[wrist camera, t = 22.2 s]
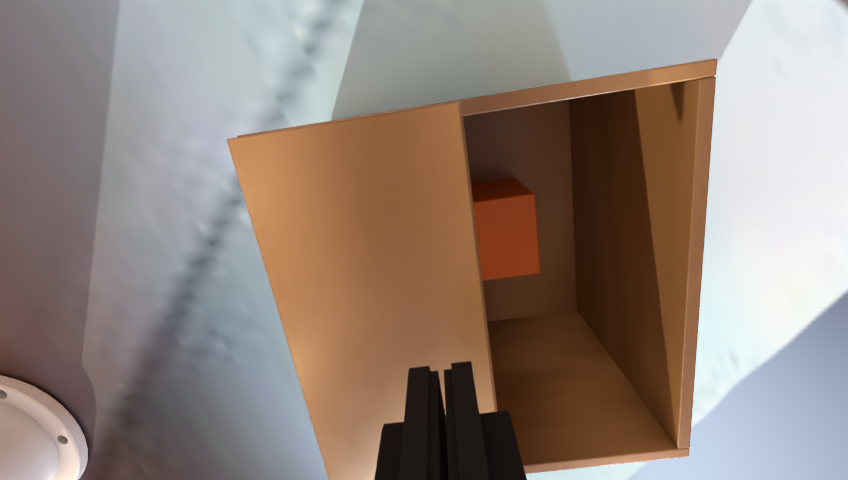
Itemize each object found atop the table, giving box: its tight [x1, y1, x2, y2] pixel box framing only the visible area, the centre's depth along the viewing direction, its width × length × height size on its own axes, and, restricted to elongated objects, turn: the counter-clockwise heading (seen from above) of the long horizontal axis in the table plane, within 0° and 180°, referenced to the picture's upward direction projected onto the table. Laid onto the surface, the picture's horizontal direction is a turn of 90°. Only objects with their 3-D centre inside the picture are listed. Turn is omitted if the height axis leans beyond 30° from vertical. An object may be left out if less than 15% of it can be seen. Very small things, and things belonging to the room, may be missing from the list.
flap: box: [227, 101, 498, 480], centre depth 13 cm, size 7×15×1 cm, turn 9°
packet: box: [471, 178, 540, 281], centre depth 24 cm, size 7×4×5 cm, turn 99°
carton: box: [237, 59, 717, 474], centre depth 21 cm, size 15×16×12 cm
